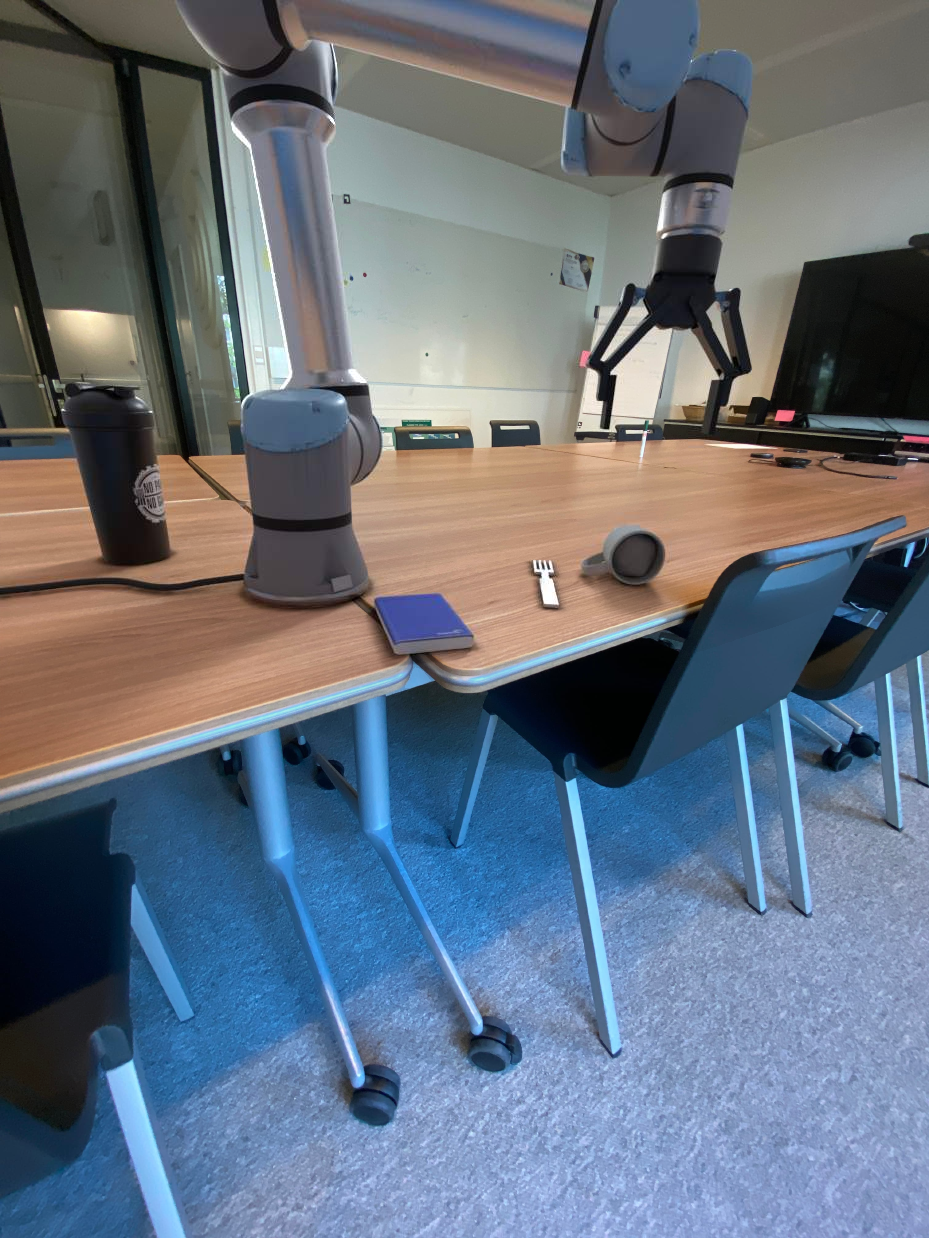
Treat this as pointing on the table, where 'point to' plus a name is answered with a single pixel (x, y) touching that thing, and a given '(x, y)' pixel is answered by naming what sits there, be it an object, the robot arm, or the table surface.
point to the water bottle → (118, 471)
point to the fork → (546, 584)
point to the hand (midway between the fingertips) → (655, 431)
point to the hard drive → (422, 624)
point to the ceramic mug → (628, 556)
